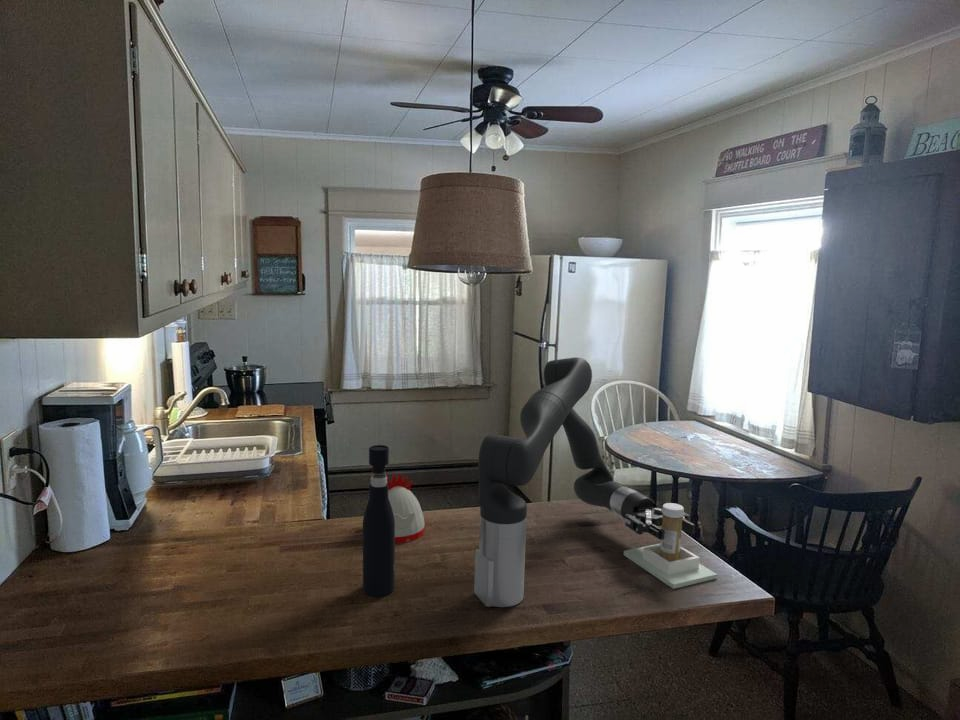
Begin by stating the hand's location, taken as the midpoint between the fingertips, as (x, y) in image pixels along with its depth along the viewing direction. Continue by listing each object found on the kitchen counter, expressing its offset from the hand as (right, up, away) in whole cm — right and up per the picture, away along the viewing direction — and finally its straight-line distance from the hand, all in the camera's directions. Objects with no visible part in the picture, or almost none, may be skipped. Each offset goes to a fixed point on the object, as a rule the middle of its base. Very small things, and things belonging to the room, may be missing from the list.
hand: (678, 532), depth 144 cm
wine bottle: (-64, -9, -10) cm, 66 cm away
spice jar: (-1, -8, +3) cm, 8 cm away
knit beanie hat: (-64, -5, +19) cm, 67 cm away
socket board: (-1, -9, +3) cm, 9 cm away
